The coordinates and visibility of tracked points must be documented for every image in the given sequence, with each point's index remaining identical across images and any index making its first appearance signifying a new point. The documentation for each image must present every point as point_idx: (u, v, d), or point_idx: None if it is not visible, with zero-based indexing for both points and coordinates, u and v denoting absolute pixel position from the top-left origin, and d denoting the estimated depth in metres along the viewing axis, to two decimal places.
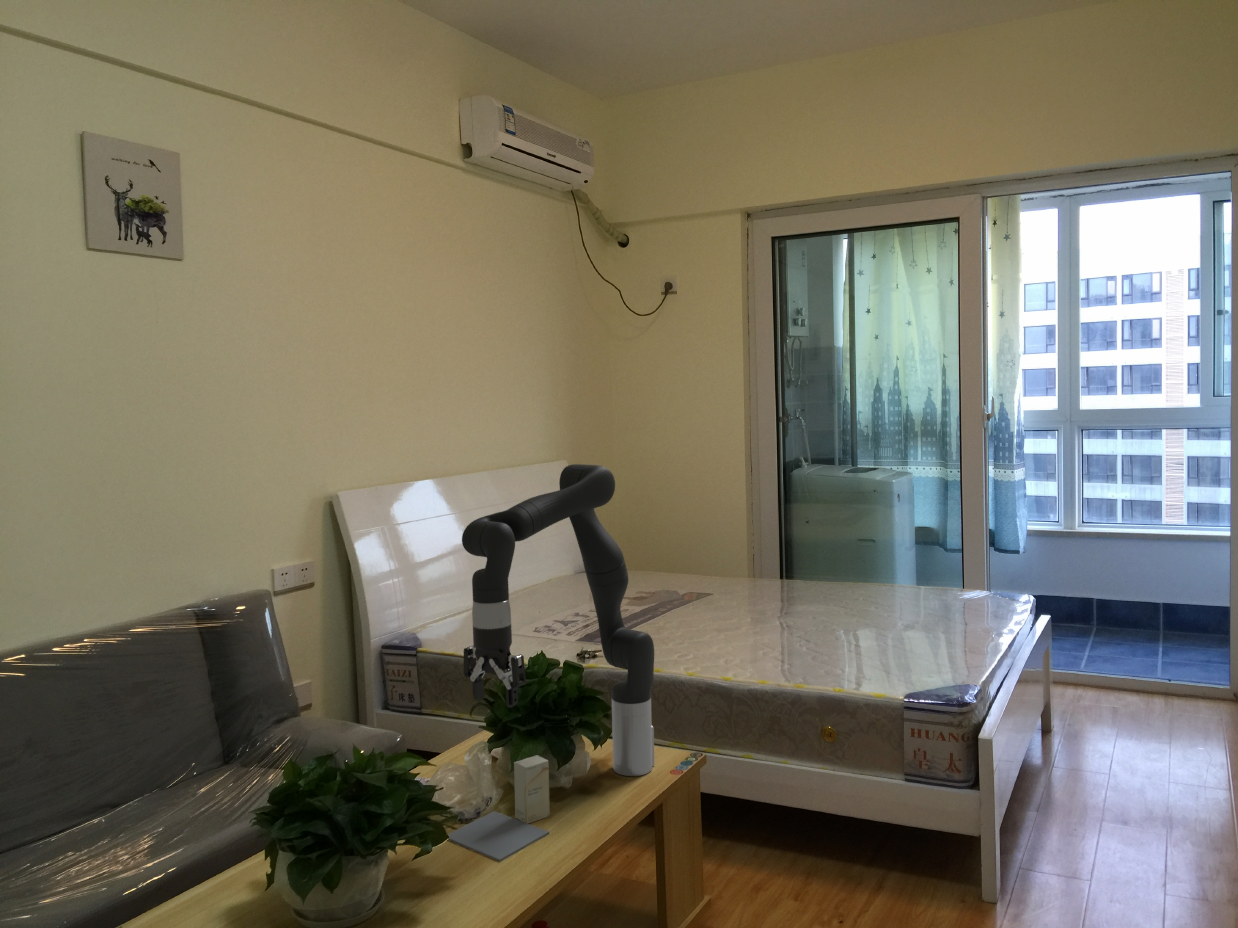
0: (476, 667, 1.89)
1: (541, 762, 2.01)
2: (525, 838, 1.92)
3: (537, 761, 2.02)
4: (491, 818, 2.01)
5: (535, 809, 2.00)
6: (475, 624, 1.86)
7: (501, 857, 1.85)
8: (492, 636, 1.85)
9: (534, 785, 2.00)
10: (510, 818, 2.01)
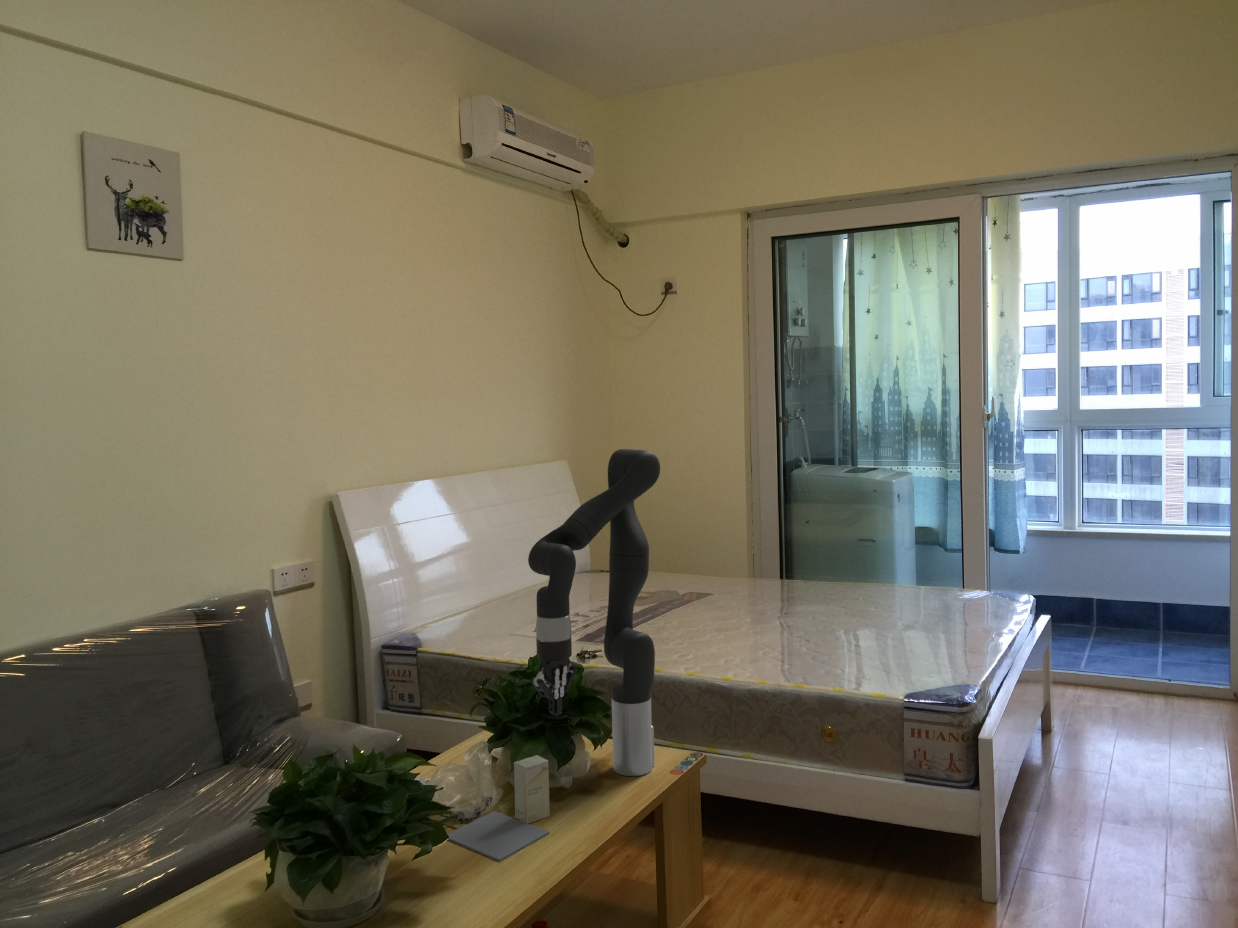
0: (556, 683, 2.04)
1: (541, 762, 2.01)
2: (525, 838, 1.92)
3: (536, 761, 2.02)
4: (491, 818, 2.01)
5: (535, 809, 2.00)
6: (563, 637, 2.03)
7: (501, 857, 1.85)
8: (571, 643, 2.06)
9: (534, 785, 2.00)
10: (510, 818, 2.01)
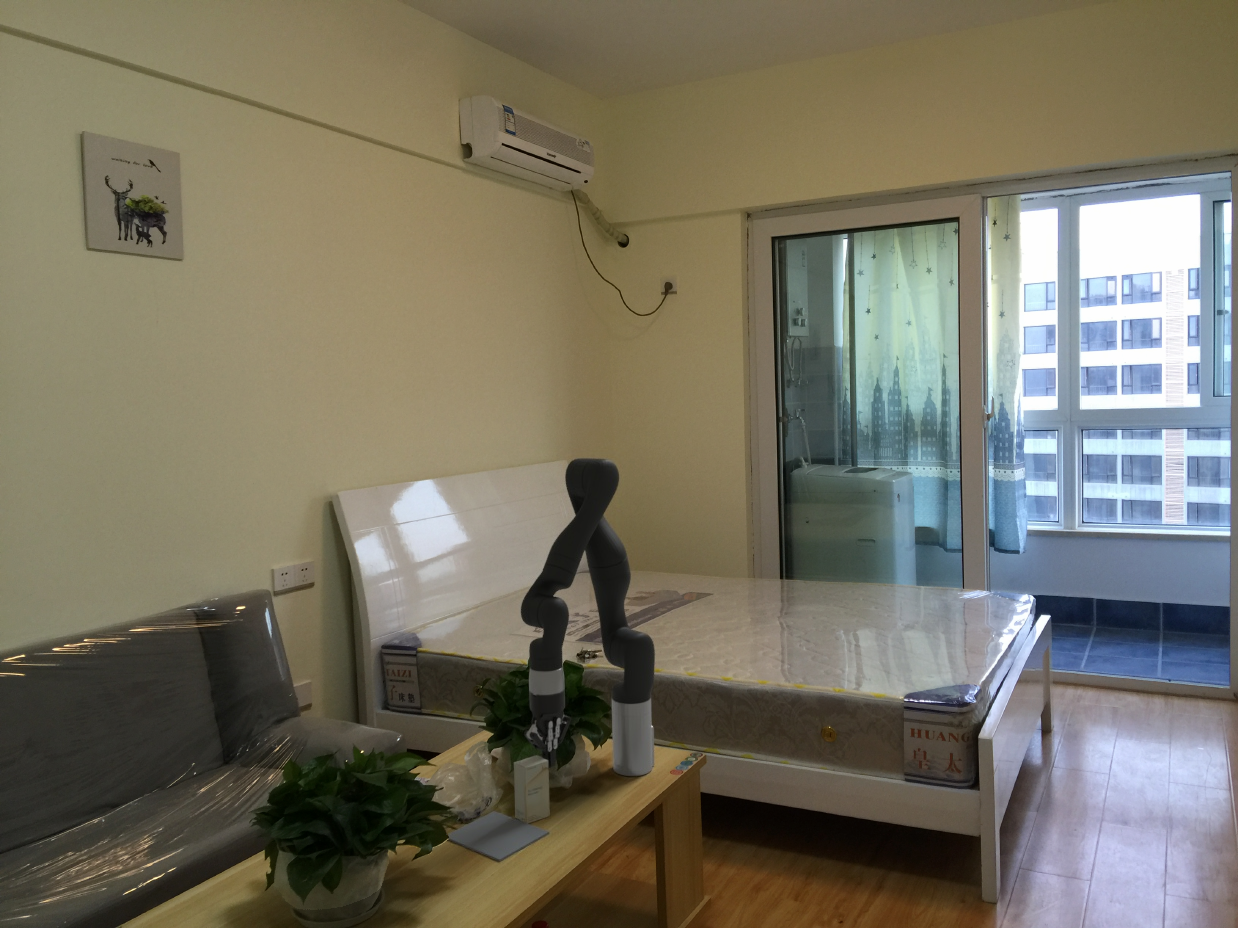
0: (549, 735, 2.04)
1: (541, 762, 2.01)
2: (525, 838, 1.92)
3: (536, 761, 2.02)
4: (491, 818, 2.01)
5: (535, 809, 2.00)
6: (556, 690, 2.02)
7: (501, 857, 1.85)
8: (564, 694, 2.05)
9: (534, 785, 2.00)
10: (510, 818, 2.01)
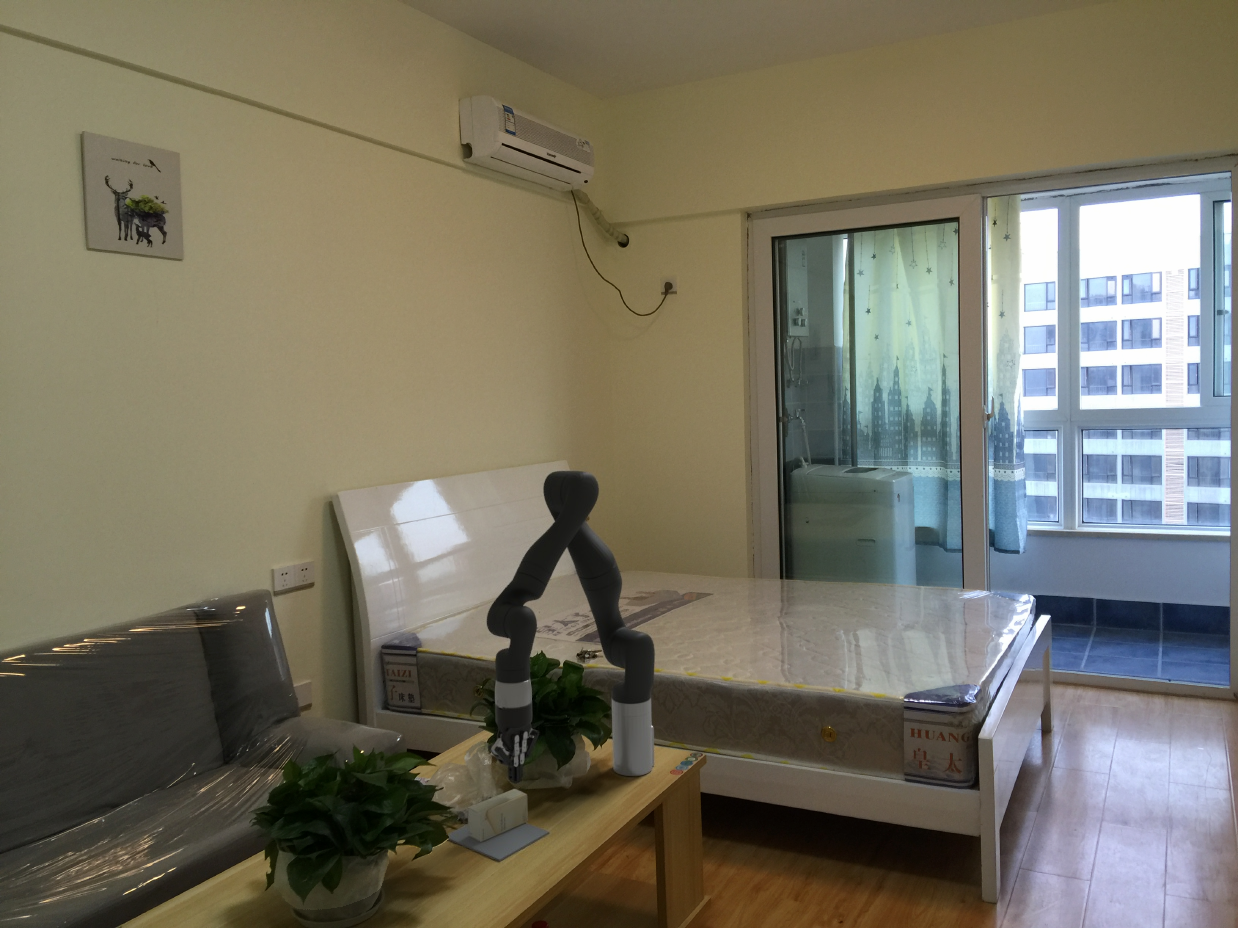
0: (516, 750, 1.96)
1: (480, 820, 1.91)
2: (525, 838, 1.92)
3: (477, 822, 1.91)
4: None
5: (518, 814, 1.97)
6: (522, 703, 1.94)
7: (501, 857, 1.85)
8: None
9: (498, 824, 1.94)
10: None
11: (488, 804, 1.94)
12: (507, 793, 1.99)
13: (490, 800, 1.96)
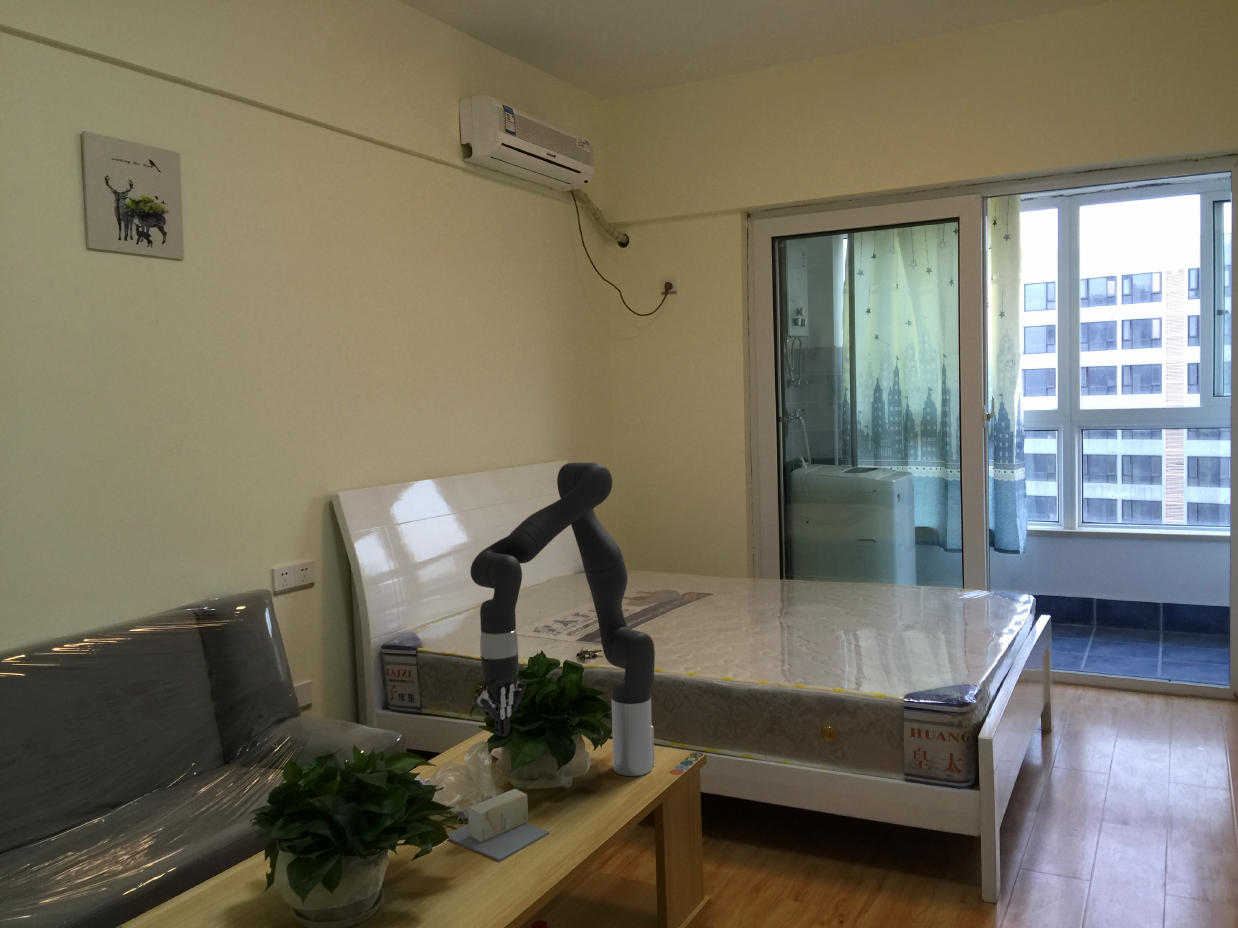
0: (502, 702, 1.92)
1: (480, 821, 1.91)
2: (525, 838, 1.92)
3: (477, 822, 1.91)
4: None
5: (518, 815, 1.97)
6: (508, 654, 1.90)
7: (501, 857, 1.85)
8: None
9: (498, 824, 1.94)
10: None
11: (488, 804, 1.94)
12: (507, 793, 1.99)
13: (491, 800, 1.96)
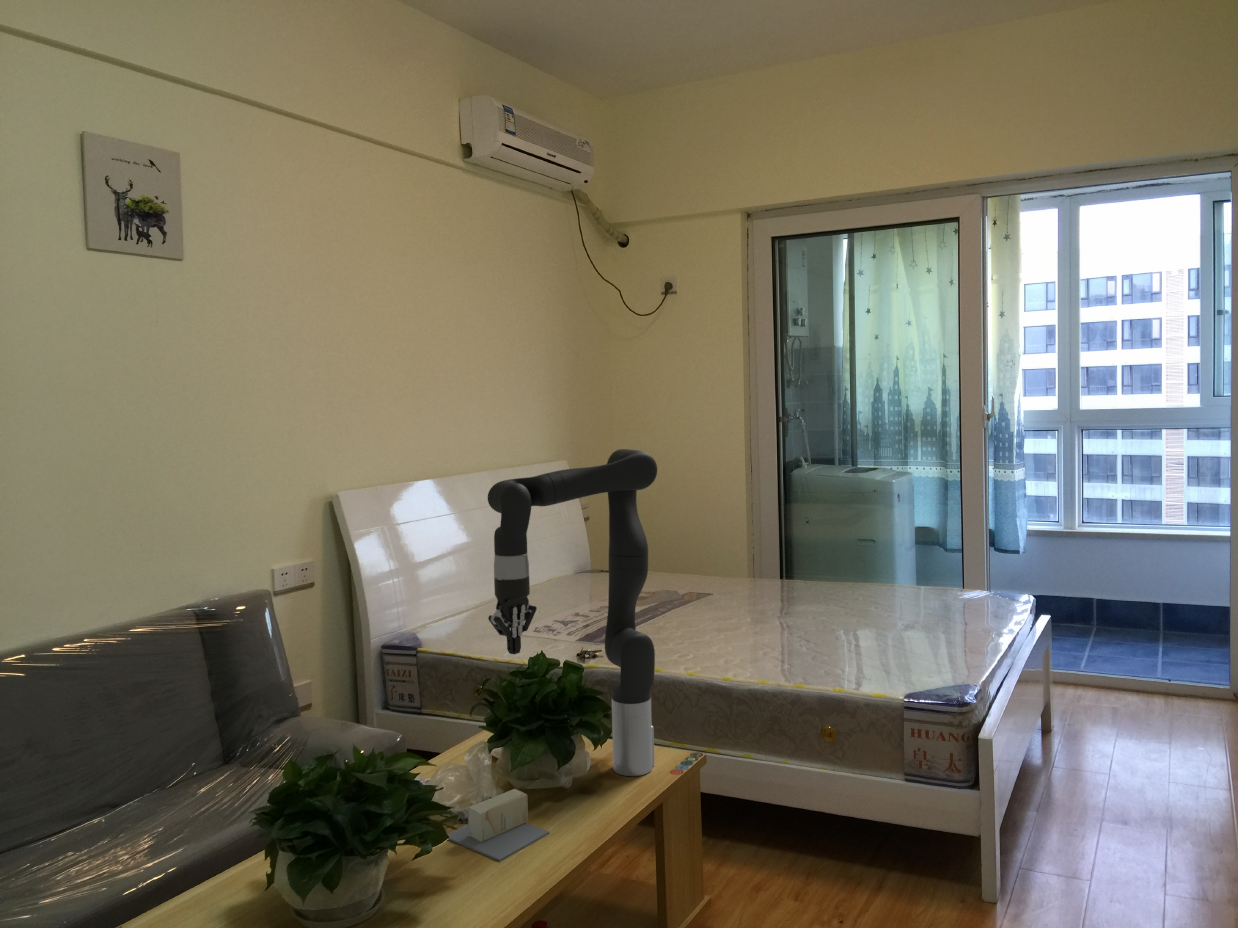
0: (514, 621, 2.05)
1: (480, 821, 1.91)
2: (525, 838, 1.92)
3: (477, 822, 1.91)
4: None
5: (518, 815, 1.97)
6: (520, 575, 2.03)
7: (501, 857, 1.85)
8: None
9: (498, 824, 1.94)
10: None
11: (488, 804, 1.94)
12: (507, 793, 1.99)
13: (491, 800, 1.96)
